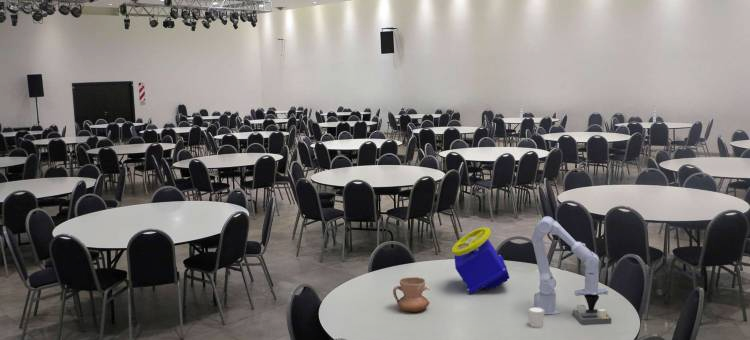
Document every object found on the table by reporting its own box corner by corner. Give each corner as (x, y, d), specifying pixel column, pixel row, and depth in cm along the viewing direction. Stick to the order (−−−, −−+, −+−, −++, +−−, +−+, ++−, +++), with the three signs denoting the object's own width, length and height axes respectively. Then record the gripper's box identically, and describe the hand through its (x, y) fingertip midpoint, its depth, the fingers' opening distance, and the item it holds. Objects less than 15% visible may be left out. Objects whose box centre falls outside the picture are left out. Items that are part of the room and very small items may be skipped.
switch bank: (582, 324, 268) (582, 319, 268) (572, 315, 280) (572, 309, 279) (611, 323, 269) (611, 317, 269) (600, 313, 280) (600, 308, 280)
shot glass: (541, 321, 273) (541, 306, 272) (546, 327, 267) (546, 312, 266) (526, 322, 273) (526, 307, 272) (530, 328, 266) (530, 312, 265)
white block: (579, 315, 276) (579, 307, 275) (577, 313, 278) (577, 304, 278) (585, 315, 276) (585, 306, 275) (583, 313, 278) (583, 304, 278)
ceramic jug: (433, 304, 298) (432, 276, 296) (428, 315, 284) (427, 285, 282) (397, 303, 302) (395, 275, 301) (390, 313, 288) (389, 284, 287)
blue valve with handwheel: (515, 265, 328) (486, 219, 324) (522, 284, 302) (490, 235, 298) (474, 288, 333) (444, 243, 329) (477, 309, 307) (445, 261, 303)
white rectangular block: (599, 319, 270) (599, 311, 269) (596, 317, 273) (597, 309, 272) (606, 319, 270) (606, 310, 270) (603, 317, 273) (603, 308, 272)
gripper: (579, 284, 271) (578, 314, 273) (611, 283, 271) (610, 312, 273) (573, 279, 278) (572, 308, 280) (604, 278, 278) (604, 307, 280)
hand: (591, 310), depth 277 cm, fingers closed
